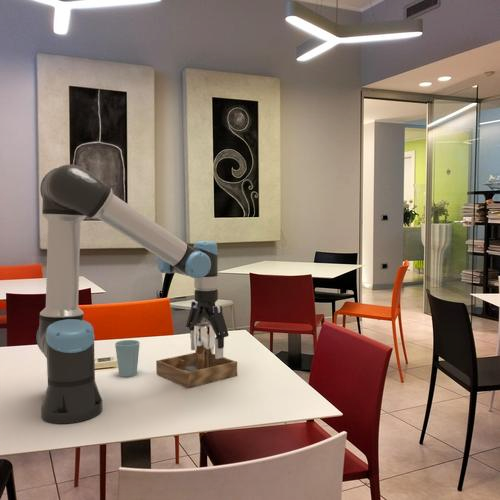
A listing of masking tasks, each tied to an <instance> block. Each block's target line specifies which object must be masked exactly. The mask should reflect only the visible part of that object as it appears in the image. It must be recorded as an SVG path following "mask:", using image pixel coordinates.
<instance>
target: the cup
mask: <svg viewBox="0 0 500 500" xmlns="http://www.w3.org/2000/svg"><path fill="white" fill-rule="evenodd" d="M140 344H141V343H140V340H135V339H124V340H123V339H122V340H120V341H116V342H115V343H114V346H115V353H116V354H115V355H116V360H117V361H116V362H117V367H118V368H117V369H118V374H119V376H120V377H123V378H130V377H134V376H136V375H137V373H138V363H139V354H140V353H139V352H140Z"/></svg>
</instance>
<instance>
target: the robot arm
mask: <svg viewBox="0 0 500 500" xmlns="http://www.w3.org/2000/svg"><path fill="white" fill-rule="evenodd" d="M39 189H40V191H39V192H40V196H41V198H42V203H41V204H42V211H41V212H42V216H43V217H44V218H45V219H46V220H47V245H46V246H47V250H46V282H45V283H46V288H45V307H44V308H43V309H42V310H41V311H40V312H39V326H38V329H37V332H36V343H37V346H38V348H39V350H40V352H42V353H41V354H43V355H44V357H45V358H46V367H47V368H46V369H47V370H46V373H47V374H46V375H47V376H46V377H47V387H46V391H45V394H44V397H43V399H42V404H41V408H40V413H41V419H42V420H44V421H45V422H48V423H51V424H52V423H53V424H72V423H73V424H74V423H79V422H83V421H86V420H89V419H92V418H95V417H97V416H98V415H100V413H102V412H103V400H102V398H103V397H101V393H100V390H99V389H98V385H97V383H96V373H95V372H96V371H95V370H96V369H95V368H96V367H95V366H96V365H95V364H96V363H95V339H96V338H95V333H94V331H95V330H94V326H93V325H92V323H90V322H89V321H87V320H84V314H85V313H84V311H83V310H82V309H81V308H80V307H79V290H80V289H79V286H80V283H79V282H80V257H81V256H80V254H81V253H80V252H81V249H80V248H81V224H82V222H83V221H84V220H85V219H86V218H87V217H88V218H90V219H98V220H100V221H101V222H103V223H104V224H107V226H109V227H111V228H112V229H114V230H115V231H117V232H118V233H120V234H122V235H124V236H125V237H126V238H128V239H130V240H131V241H133V242H135V243H136V244H137V245H139V246H140V247H142V248H144V249H145V250H147V251H149V252H150V253H152V254H153V255H155V256H156V264H157V265H156V266H157V269H158V271H159V272H160V273H161V274H179V275H182V276H187V277H190V278H192V279H194V280H193V284H194V285H193V287H194V289H195V290H194V301H191V302H190V309H189V310H190V311H189V314H188V318H187V319H186V320H187V321H186V325H185V326H186V328H188V329H189V330H190V350H191V351H195V346H194V325H195V324H197V323H202V321H203V319H207V321H208V322H209V323H211V326H212V328H213V330H214V332H215V345H214V354H215V359H219V358H223V357H224V348H225V338H227V337H229V335H230V334H229V331H228V328H227V324H226V321H225V318H224V317H225V316H224V313H223V306H222V305H218V306H216V302H217V301H218V300H219V291H218V290H219V289H217V288H218V283H219V282H218V274H219V273H218V270H219V269H218V264H219V263H218V259H219V258H218V256H219V254H218V252H219V251H218V244H217V242H216V241H212V240H201V241H195V242H194V243H193V247H192V246H190V245H189V244H187V243H186V242H184V241H183V240H181V239H180V238H179V237H177V236H175V235H174V234H173V233H171V232H170V231H168V229H165V228H164V227H163V226H161V225H160V224H158V223H156V221H154V220H152V219H150V218H149V217H148V216H146V215H144V214H143V213H141V211H139V210H137V209H136V208H135V207H133V206H131V205H130V204H129V203H127V202H125V201H124V200H123V199H121V198H119V197H118V196H116V194H114V192H113V188H112V187H110V185H107V184H106V183H105V182H103V181H102V180H101V179H99V178H98V177H97V176H95V175H94V174H93V173H91V172H90V171H89V170H88V169H85V168H84V167H81V166H79V165H76V164H64V165H60V166H59V167H55V168H53V169H51V170H49V171H48V172H47V173H45V175H44V176H43V178H42V180H41V182H40V187H39Z"/></svg>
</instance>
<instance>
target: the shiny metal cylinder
mask: <svg viewBox="0 0 500 500" xmlns="http://www.w3.org/2000/svg"><path fill="white" fill-rule="evenodd" d="M215 338H216V335H215V332H214V330H213V328H212V326H211V323H210V322H200V323H197V324H195V325H194V346H195V350H194V351H195V352H196V359H197V361H196V368H195V370H196V371H197V370H201V369H205V368H209V367H214V366H213V354H214V353H215ZM195 352H194V353H195Z"/></svg>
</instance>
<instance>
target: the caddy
mask: <svg viewBox="0 0 500 500" xmlns="http://www.w3.org/2000/svg"><path fill="white" fill-rule="evenodd" d="M196 361H197V359H196V352H190V353H186V354H181V355H177V356H172V357H167V358H162V359H158V360H156V362H155V364H156V366H155V367H156V368H155V370H156V375H157V376H159V377H162V378H164V379H166V380H168V381H170V382H172V383H174V384H177V385H179V386H180V387H182V388H185V389H192V388H194V387H198V386H199V387H200V386H202V385H207V384H211V383H214V382H218V381H222V380H227V379H229V378H233V377H238V361H236V360H233V359H230V358H227V357H224V356H223V358H219V359H215V353H213V366H214V367H209V368H205V369H201V370H197V371H196V370H195V368H196Z"/></svg>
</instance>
